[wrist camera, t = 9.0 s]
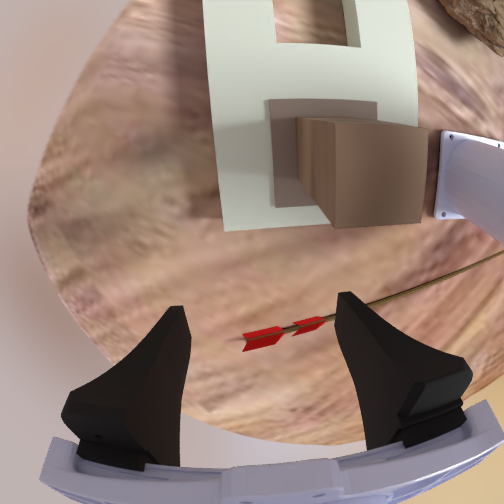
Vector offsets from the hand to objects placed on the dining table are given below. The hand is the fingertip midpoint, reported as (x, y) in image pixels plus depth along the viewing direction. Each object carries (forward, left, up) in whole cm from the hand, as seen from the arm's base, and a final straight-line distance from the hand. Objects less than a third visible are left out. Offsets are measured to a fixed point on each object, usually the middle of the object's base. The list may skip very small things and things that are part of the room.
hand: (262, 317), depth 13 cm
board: (-5, -11, -10) cm, 16 cm away
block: (-5, -6, -8) cm, 11 cm away
